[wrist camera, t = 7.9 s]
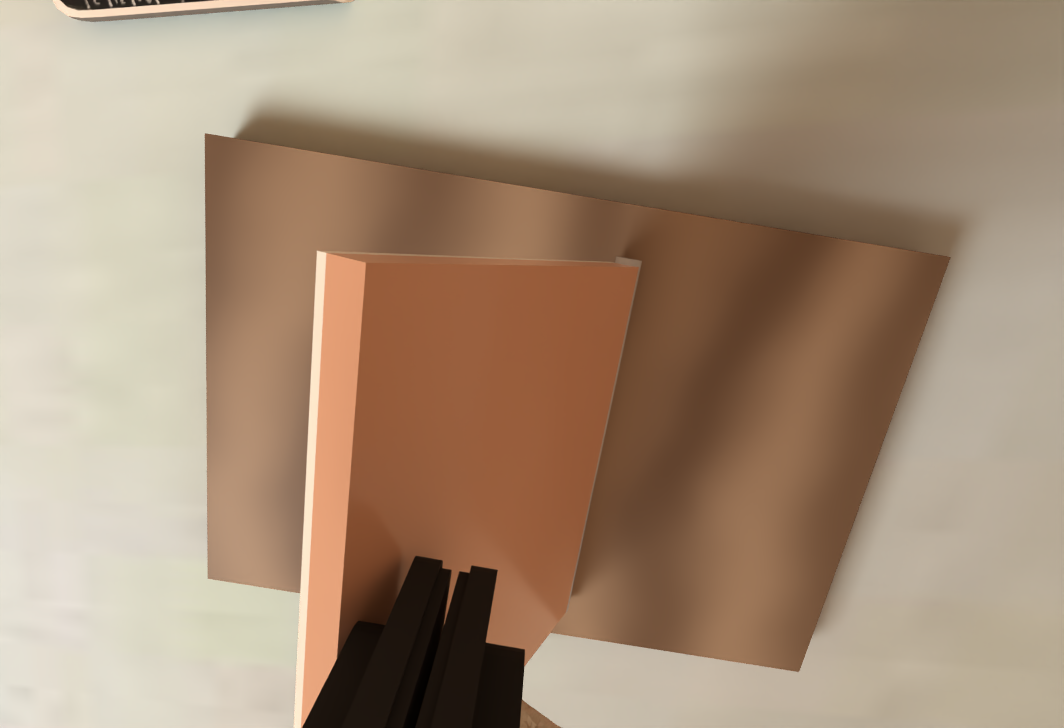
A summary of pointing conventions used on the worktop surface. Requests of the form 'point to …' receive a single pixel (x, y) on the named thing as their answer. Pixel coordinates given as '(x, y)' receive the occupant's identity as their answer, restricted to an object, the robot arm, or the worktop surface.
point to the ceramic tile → (453, 435)
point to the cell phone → (168, 7)
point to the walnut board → (639, 398)
